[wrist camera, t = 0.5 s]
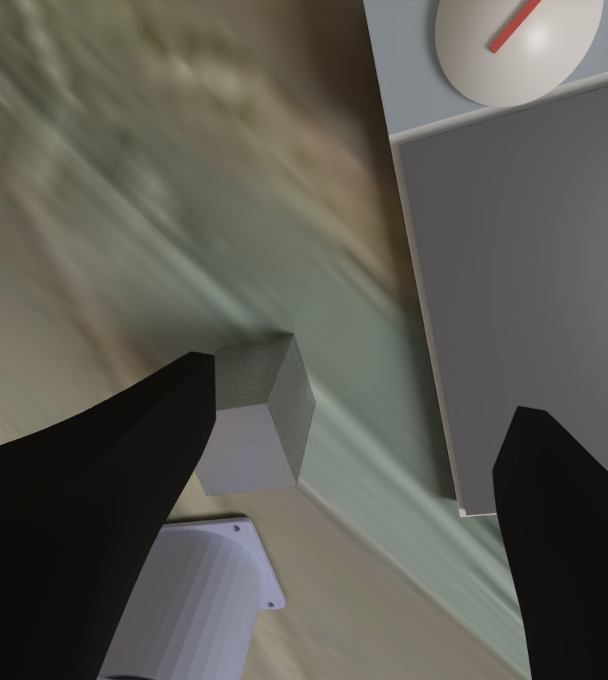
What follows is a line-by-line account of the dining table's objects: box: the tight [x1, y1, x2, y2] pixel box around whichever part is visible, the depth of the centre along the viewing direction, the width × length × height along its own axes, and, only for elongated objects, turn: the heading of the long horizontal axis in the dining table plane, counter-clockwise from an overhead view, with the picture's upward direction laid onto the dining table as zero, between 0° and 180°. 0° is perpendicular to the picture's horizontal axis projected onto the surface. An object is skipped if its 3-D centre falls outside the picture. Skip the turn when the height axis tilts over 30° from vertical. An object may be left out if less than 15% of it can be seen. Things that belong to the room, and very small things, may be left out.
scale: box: [363, 0, 608, 517], centre depth 18 cm, size 8×23×4 cm, turn 16°
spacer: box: [194, 334, 316, 496], centre depth 21 cm, size 4×4×6 cm
